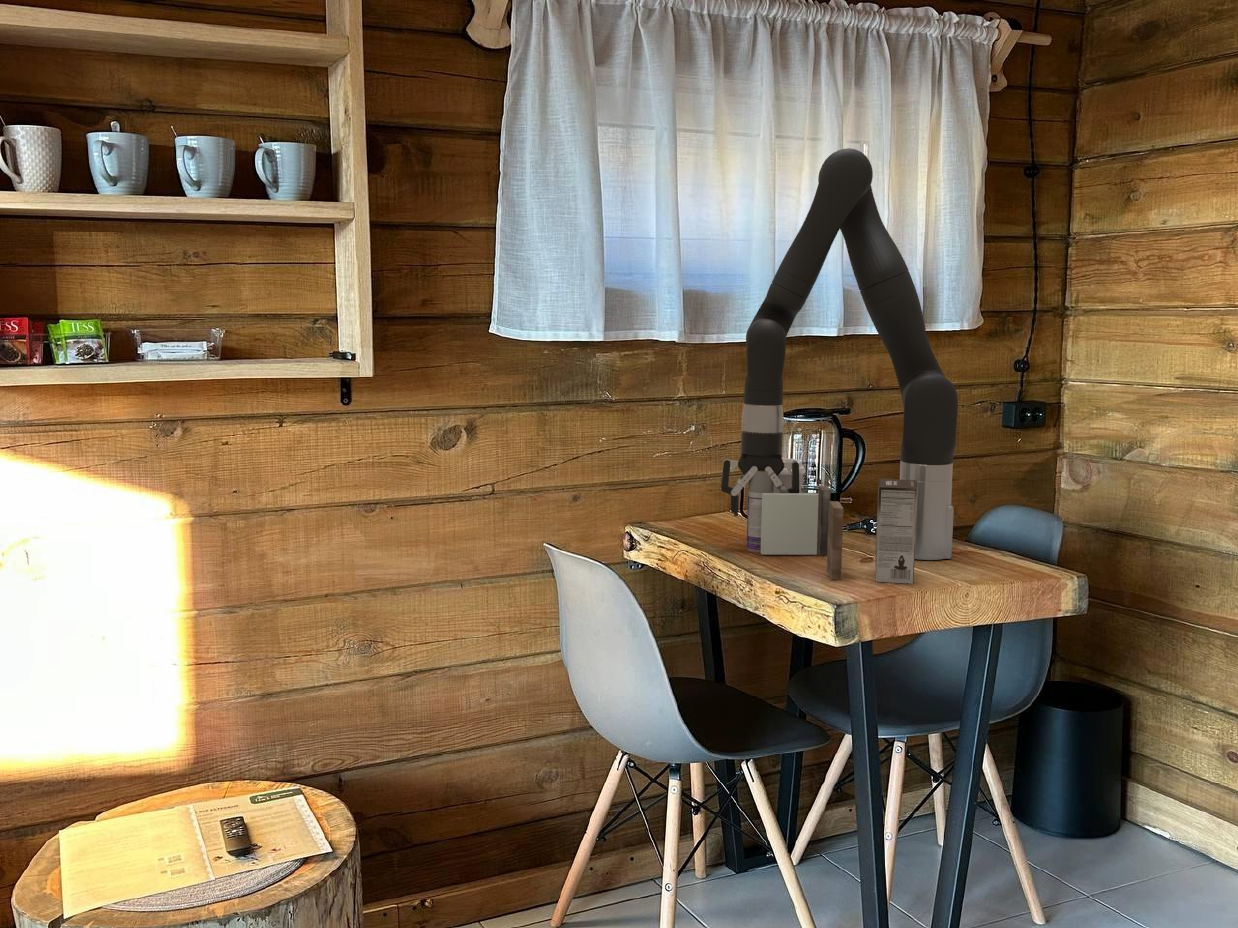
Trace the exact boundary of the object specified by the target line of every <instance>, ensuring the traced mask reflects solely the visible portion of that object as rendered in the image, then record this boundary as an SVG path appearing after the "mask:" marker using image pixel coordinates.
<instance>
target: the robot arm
mask: <svg viewBox="0 0 1238 928" xmlns="http://www.w3.org/2000/svg"><path fill="white" fill-rule="evenodd" d="M873 173H874V171H873V167H872V163H871V161H870V160H869V158H868V157H867V155H866V154H865V153H863V152H862V151H860V150H858V149H855V148H850V147H849V148H848V147H847V148H841V149H838V150H836V151H835V152H834V151H833V153H831V154H830V155H828V157H826V159H825V160H824V161H823V163H822V165H821V167H820V170H819V173H818V177H817V179H818V181H817V182H818V184H817V188H816V190H815V193H814V197H813V199H812V200H813V201H812V202H811V205H810V208H809V209H808V212H807V214H806V217H805V218H804V221H803V223H802V225H801V227H800V229H799V231H798V232H797V234H796V235H795V238H794V240H793V241H792V243H791V245H790V246H789V248H788V249H787V251H786V254H785V255H784V257H783V259H782V261H781V263H780V265H779V266H778V269H777V270H776V273H775V274H774V276H773V279H772V281H771V282H770V284H769V288H768V290H767V292H766V294H765V295H766V296H765V298H764V300H763V301H762V303H761V304H760V307H759V308H758V310H757V312H756V314H755V316H754V317H753V318H752V321H751V322H750V325H749V326H748V328H747V331H746V334H745V343H746V375H745V380H744V388H743V389H744V392H743V393H744V394H743V408H742V409H743V410H742V415H741V434H740V435H741V437H740V457H739V459H738V460H732V459H729V458H725V459H723V462H722V463H723V464H722V474H721V482H720V483H721V485H720V490H721V492H722V493H726V494H728V495H729V496H730V508H729V509H730V512H731V514H733V516H734V517H738V516H739V493H740V492H741V491H742V490H743V488H744V487H745V486H746V485H747V484H748V483H749V482H750V480H751V478H752V476H753V475H754V474H755V473H756V471H768V475H769V476H770V478H771V480H772V481H773V483H774V484H775V485H776V487H777V488H778V489H779V491H780V492H781V493H799V491H800V490H799V464H798V462H797V461H795V460H794V461H792V462H783V460H782V458H783V438H784V435H783V434H784V427H785V425H784V410H783V403H784V402H783V400H784V378H783V377H784V376H783V375H784V370H785V369H784V367H785V361H786V360H785V359H786V348H787V335H788V334H789V331H790V329H791V327H792V325H793V323H794V321H795V318H796V317H797V315H798V313H800V311H801V310H802V309H803V307H804V305H805V304H806V302H807V300H808V298H809V295H810V294H811V292H812V290H813V287H814V286H815V284H816V282H817V280H818V278H819V276H820V273H821V270H822V269H823V266H824V263H825V261H826V259H827V256H828V254H829V253H830V250H831V247H832V245H833V243H834V241H835V239H836V237H837V234H838V233H839V231H840V232H841V234H842V235H841V236H842V237H843V240H844V243H845V245H846V250H847V254H848V259H849V262H850V266H851V268H852V272H853V276H854V277H855V281H856V284H857V287H858V290H859V293H860V296H861V299H862V301H863V303H864V305H865V309H866V310H867V313H868V314H869V317H870V319H871V321H872V324H873V326H874V328H875V330H876V332H877V335H878V336H879V338H880V339H881V342H882V343H883V345H884V347H885V349H886V351H887V352H888V355H889V358H890V360H891V362H892V365H893V369H894V372H895V373H894V374H895V377H896V380H897V384H898V387H899V391H900V397H901V401H902V402H901V403H902V405H903V423H902V425H903V428H902V439H901V446H900V463H899V465H900V466H899V480H916V481H917V487H918V498H917V522H916V542H915V560H923V561H925V560H926V561H937V560H945V559H946V560H947V559H952V552H953V551H952V550H953V547H952V546H953V532H954V531H953V529H954V513H955V512H954V511H955V510H954V509H955V508H954V506H953V505H952V491H953V472H954V471H953V468H954V467H953V466H954V454H955V448H956V445H957V431H958V430H957V429H958V428H957V427H958V415H959V414H958V413H959V411H958V410H959V396H958V392H957V389H956V387H955V386H954V384H953V382H952V381H951V380H949V379H948V378H947V377H946V375H945V374H944V371H943V370H942V367H941V366H940V364H939V361H938V360H937V358H936V355H935V353H934V352H933V349H932V346H931V345H930V341H929V339H928V335H927V330H926V324H925V319H924V314H923V311H922V306H921V301H920V298H919V296H918V295H919V294H918V292H917V289H916V287H915V286H916V285H915V283H914V281H913V279H912V275H911V273H910V271H909V268H908V266H907V263H906V261H905V259H904V257H903V256H902V253H901V251H900V249H899V248H898V246H897V245H896V242H895V241H894V240H893V238H892V236H891V235H890V233H889V231H888V230H887V228H886V226H885V225H884V223H883V220H882V218H881V215H880V213H879V210H878V206H877V203H876V199H875V196H874V191H873V189H872V183H873V178H874V174H873ZM736 467H737V468H738V469H739V471H740V472H741V474H742V475H741V476H740V477H739V478H738V479H737V481H736V482H735V484H734V485H733V486H730V485H729V481H730V473H732V472H734V470H735V469H736ZM784 468H787V471H788V473H790V474H792V487H791V488H788V489H786V487H785V486H784V484H783V483H782V481H781V480H780V479H779V477H778V475H779V474H780V473H781V471H782V470H783V469H784Z"/></svg>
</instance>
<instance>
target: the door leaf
mask: <svg viewBox="0 0 1238 928" xmlns="http://www.w3.org/2000/svg"><path fill="white" fill-rule="evenodd" d="M818 498H819V493H812V492H811V493H810V492H809V493H805V492H804V493H802V492H801V493H762V517H761V553H760V555H790V556H791V555H798V556H799V555H800V556H801V555H814V556H815V555H817V553H818V551H817V528H818Z"/></svg>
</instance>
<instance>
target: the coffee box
mask: <svg viewBox="0 0 1238 928" xmlns="http://www.w3.org/2000/svg"><path fill="white" fill-rule="evenodd" d="M877 490H878V491H877V507H876V508H877V510H876V511H877V512H876V531H875V532H876V533H875V534H876V535H875V582H876V583H889V584H891V583H894V584H907V583H908V584H911V585H913V584H914V580H915V579H914V578H915V577H914V575H915V560H916V559H915V542H916V522H917V498H918V487H917V481H916V480H900V478H899V479H893V478H879V479H878V487H877Z"/></svg>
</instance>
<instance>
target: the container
mask: <svg viewBox="0 0 1238 928" xmlns="http://www.w3.org/2000/svg"><path fill="white" fill-rule="evenodd" d="M747 487H748V488H747V490H748V491H747V515H746V516H747V520H746V521H747V522H746V551H748V552H750V553H759V554H761V517H762V493H774V483H773V481H772V480H771V478H770V476H769V475H768V471H756V473H755V474H754V475H753V476H752V478H751V480H750V482H748V486H747Z"/></svg>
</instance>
